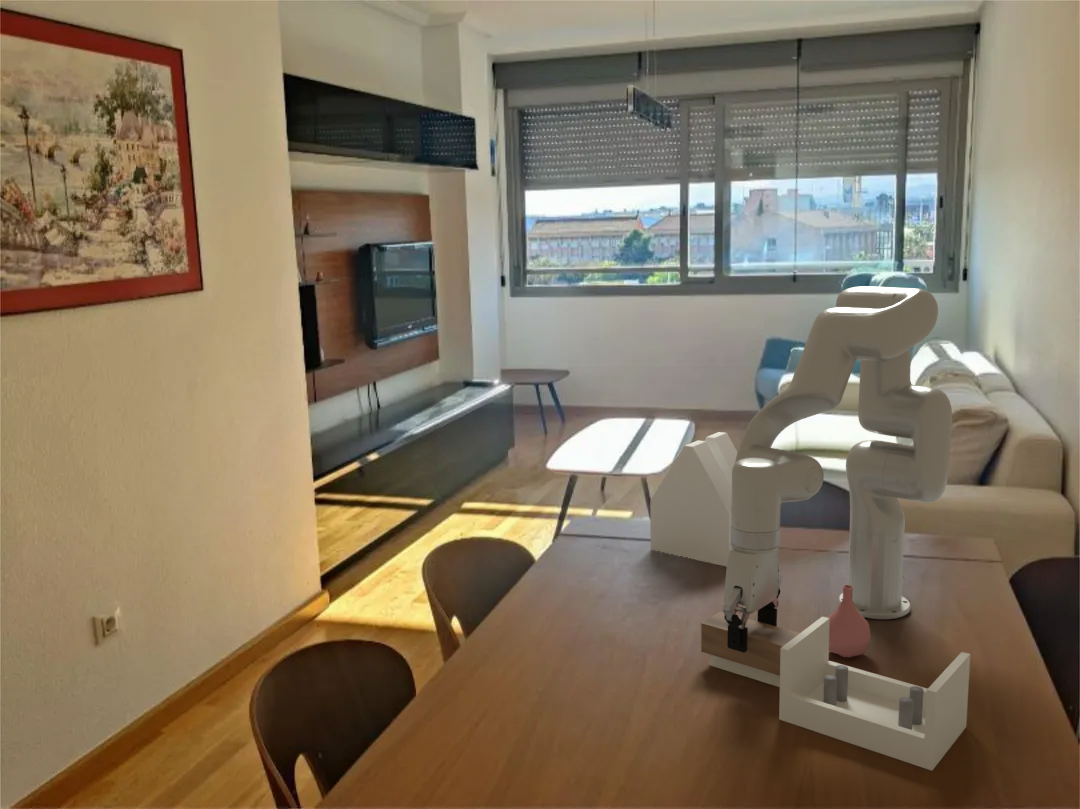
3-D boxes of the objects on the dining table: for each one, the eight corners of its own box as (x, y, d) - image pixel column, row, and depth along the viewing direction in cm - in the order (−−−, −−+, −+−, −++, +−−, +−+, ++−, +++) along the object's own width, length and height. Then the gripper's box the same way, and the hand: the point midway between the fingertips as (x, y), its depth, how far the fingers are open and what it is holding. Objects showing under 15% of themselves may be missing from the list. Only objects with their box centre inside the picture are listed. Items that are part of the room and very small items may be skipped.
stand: (820, 683, 153) (822, 616, 151) (966, 727, 139) (970, 654, 136) (779, 719, 142) (780, 648, 140) (932, 770, 128) (936, 692, 126)
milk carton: (650, 550, 216) (649, 440, 211) (685, 531, 227) (685, 427, 223) (729, 567, 204) (729, 451, 199) (761, 546, 216) (762, 437, 211)
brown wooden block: (719, 639, 164) (720, 611, 163) (808, 665, 154) (809, 635, 153) (701, 651, 159) (701, 623, 158) (791, 679, 149) (792, 648, 148)
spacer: (722, 656, 163) (722, 642, 162) (799, 680, 154) (800, 665, 153) (709, 665, 160) (709, 651, 159) (788, 689, 151) (788, 675, 150)
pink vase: (870, 647, 165) (873, 580, 162) (870, 667, 158) (872, 597, 155) (823, 642, 167) (824, 576, 165) (820, 661, 160) (822, 592, 158)
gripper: (759, 520, 161) (757, 617, 164) (705, 546, 148) (703, 651, 151) (801, 528, 156) (798, 628, 160) (749, 556, 144) (747, 664, 147)
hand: (752, 639), depth 155 cm, fingers open, 9 cm apart
